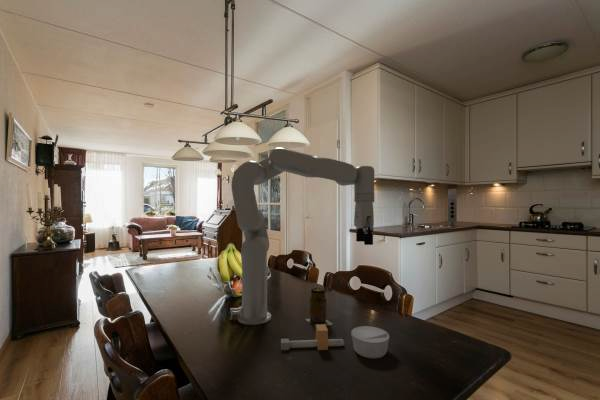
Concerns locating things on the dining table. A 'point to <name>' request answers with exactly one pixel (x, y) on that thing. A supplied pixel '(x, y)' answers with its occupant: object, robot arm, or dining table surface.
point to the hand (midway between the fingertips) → (364, 242)
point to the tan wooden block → (322, 336)
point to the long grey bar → (308, 343)
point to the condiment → (318, 307)
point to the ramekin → (370, 341)
